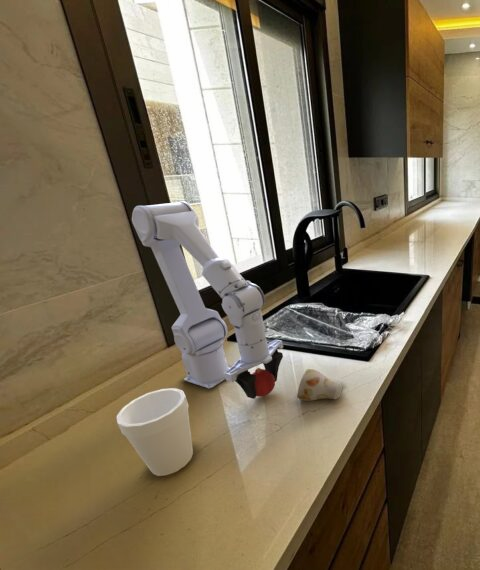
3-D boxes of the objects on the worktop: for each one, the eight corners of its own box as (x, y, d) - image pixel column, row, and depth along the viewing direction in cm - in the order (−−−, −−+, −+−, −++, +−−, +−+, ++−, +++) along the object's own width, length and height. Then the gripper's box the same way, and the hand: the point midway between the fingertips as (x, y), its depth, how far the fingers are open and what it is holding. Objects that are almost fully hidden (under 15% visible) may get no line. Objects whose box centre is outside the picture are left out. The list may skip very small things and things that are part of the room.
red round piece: (256, 388, 81) (250, 361, 78) (280, 387, 81) (275, 360, 78) (246, 404, 75) (239, 376, 72) (272, 403, 76) (266, 375, 73)
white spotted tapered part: (342, 407, 75) (315, 381, 70) (310, 416, 78) (282, 392, 73) (351, 381, 81) (326, 355, 76) (320, 390, 84) (295, 366, 79)
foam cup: (153, 493, 55) (128, 435, 51) (131, 467, 60) (107, 412, 55) (212, 453, 63) (195, 399, 58) (188, 433, 67) (171, 381, 63)
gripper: (237, 359, 65) (250, 413, 70) (289, 327, 77) (297, 374, 82) (211, 352, 67) (225, 405, 72) (266, 322, 80) (275, 368, 85)
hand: (262, 388), depth 77 cm, fingers closed on red round piece, 6 cm apart
